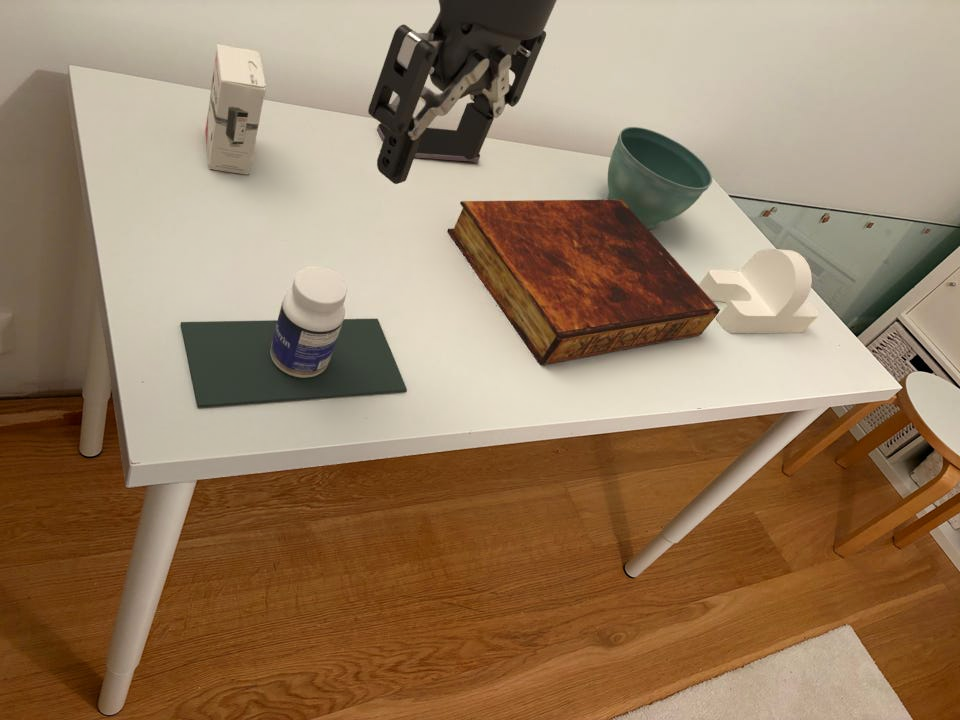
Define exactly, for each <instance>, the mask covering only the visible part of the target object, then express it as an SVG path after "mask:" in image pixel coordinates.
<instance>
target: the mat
mask: <svg viewBox="0 0 960 720" xmlns="http://www.w3.org/2000/svg"><path fill="white" fill-rule="evenodd" d="M277 320H278V319H277ZM277 320H276V319H275V320H274V319H273V320H272V319H271V320H222V321H221V320H220V321H219V320H218V321H214V320H213V321H211V320H210V321H181V322H180V329H181V334H182V339H183V343H184V348H185V353H186V359H187V364H188V369H189V373H190V377H191V383H192V387H193V392H194V397H195V403H196V407H197V408H198V409H201V408H213V407H228V406H239V405H253V404H265V403H279V402H281V403H282V402H291V401H292V402H293V401H294V402H295V401H303V400H305V401H307V400H318V399H331V398H343V397H357V396H370V395H371V396H372V395H383V394H395V393H406V392H407V391H408V388H407V386H406V384H405V381H404V379H403V377H402V374H401V372H400V368H399V367H398V363H397V362H396V360H395V359H396V358H395V357H394V355H393V352H392V350H391V347H390V345H389V342H388V340H387V338H386V335H385V333H384V330H383V328H382V325H381V323H380V320H379V319H378V318H344V320H343V323H342V326H341V329H340V332H339V335H338V338H337V341H336V344H335V347H334V350H333V353H332V356H331V359H330V362H329V364H328V366H327V367H326V369H325V370H324V371H323V372H322V373H320V374H318V375H316V376H313V377H308V378H300V377H295V376H291V375H289V374H287V373H285V372H283V371H282V370H280V369H279V368H278V367H277V366H276V365H275V363H274V362H273V360H272V358H271V354H270V349H271V344H272V340H273V336H274V332H275V328H276V324H277Z"/></svg>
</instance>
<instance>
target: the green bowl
mask: <svg viewBox="0 0 960 720" xmlns="http://www.w3.org/2000/svg"><path fill="white" fill-rule="evenodd" d="M712 184H713V175H712V172H711V171H710V169H709V168H708V166H707V165H706V164H705V163H704V161H703V160H701V158H700V157H698V155H696V154H695V153H694V152H693V151H691V150H690V149H689V148H687V147H686V146H684V145H683V144H681V143H679V142H678V141H676V140H674V139H672V138H670V137H668V136H666V135H664V134H662V133H660V132H657V131H655V130H652V129H649V128H645V127H641V126H640V127H639V126H628V127H625V128H623V129H621V131H620V132H619V134H618V136H617V140H616V143H615V145H614V147H613V149H612V152H611V156H610V159H609V163H608V167H607V188H608V195H607V198H606V200H611V199H621V200H622V201H623V202H624V203H625V204H626V205H627V207H628V208H629V209H630V210H631V211H632V212H633V213H634V214H635V215H636V217H637V218H638V219H639V220H640V221H641V222H642V223H643V224H644V225H645V227H646V228H647V229H648V230H653V229H655V228H657V227H658V226H659V225H660V224H661V223H664V222H668V221H671V220H672V219H675V218H677V217H678V216H680V215H681V214H683V213H685V212H686V211H687V210H689V209H690V208H691V207H692V206H693V205H694V204H695V203H696V202H697V201H698V200H699V199H700V197H701V196H702V195H703V193H705V191H707V190H708V189H709V188H710V186H711V185H712Z"/></svg>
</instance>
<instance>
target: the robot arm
mask: <svg viewBox="0 0 960 720" xmlns="http://www.w3.org/2000/svg"><path fill="white" fill-rule="evenodd" d="M557 1H558V0H438V4H439V12H438V14H437V17H436V19H435V20H434V21H433V24H432V25H431V27H430V28H429V29H428V31H427V32H417V31H415V30H413V29H412V28H410V27H409V26H408V25H406V24H404V23H403V24H401V25H399V26H397V28H396V29H395V31H394V33H393V36H392V39H391V41H390V45H389V47H388V50H387V53H386V56H385V59H384V62H383V65H382V68H381V70H380V74H379V76H378V80H377V83H376V86H375V88H374V92H373V94H372V97H371V101H370V102H369V106H368V110H367V112H368V115H370V116H371V118H373V119H374V120H376V121H378V123H379V124H380V123H381V124H383V125H384V126H385V127H386V128H387V131H386V134H385V138H384V141H382V144H381V148H380V150H379V154H378V156H377V159H376V167H377V170H378V171H379V173H380V174H382V176H384V177H385V178H386V179H387V180H389V181H390V182H391V183H393V184H394V185H398V184H401V183H404V182H406V181H407V179H408V176H409V173H410V171H411V169H412V165H413V162H414V159H415V158H416V157H415V154H416V151H417V149H418V146H419V143H420V140H421V138H419V137H420V136H421V134H422V133H423V132H424V131H425V129H426V128H429V126H430V125H431V123H432V122H433V121H434V120H435V118H436V117H444V116H446V115H447V114H448V113H449V112H450V111H451V110H452V109H453V108H454V106H455V105H456V103H457V102H458V101H459V100H460V99H463V98H465V97H466V96H468V95H469V99H470V100H471V102H467V103H466V105H465V107H464V111H463V113H462V115H461V117H460V120H459V123H458V125H457V128H456V129H455V130H456V133H455V135H454V138H453V140H452V146H453V148H454V149H455V150H456V151H457V152H459V153H460V154H461V155H463V156H464V157H465V158H466V159H473V158H476V157H477V156H478V155H479V154H480V153H481V151H482V147H483V145H484V143H485V141H486V138H487V136H488V134H489V131H490V129H491V127H492V125H493V121H494V119H497V118H499V117H500V116H501V115H502V114H503V112H504V111H505V107H506V105H508V106H510V107H512V108H513V107H515V106H516V105H517V104H518V103H519V101H520V100H521V98H522V96H523V93H524V91H525V88H526V86H527V84H528V82H529V79H530V76H531V74H532V72H533V69H534V66H535V64H536V62H537V59H538V57H539V54H540V52H541V50H542V47H543V45H544V43H545V40H546V38H547V32H546V31H545V28H546V26H547V25H548V21H549V19H550V17H551V14H552V13H553V11H554V8H555V5H556V3H557ZM510 71H511V72H512V73H513V74H514V79H513V82H512V84H510ZM428 77H429V78H430V82H431V83H432V85H433V86H434V87H436V89H438V90H439V91H441V93H436V92H434V91H433V90H431V89H430V88H429V87H427V86H426V82H427V80H428ZM393 93H395V94H396V95H397V96H396V97H394V99H393V100H392V102H391V103H390V101H391V98H392V96H393ZM419 101H421V102H422V103H423V104H424V105H423V107H422V108H421V109H420V111H418V113H417V114H416V115H415V117H414V114H415V111H416V109H417V106H418V103H419Z"/></svg>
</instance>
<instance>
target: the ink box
mask: <svg viewBox="0 0 960 720" xmlns="http://www.w3.org/2000/svg"><path fill="white" fill-rule="evenodd" d="M262 63H263V62H262V58H261V53H260V52H258V51H256V50H252V49H247V48H242V47H238V46H237V47H236V46H232V45H228V44H222V43H216V49H215V56H214V63H213V64H214V65H213V72H212V78H211V79H212V80H211V88H210V94H209V95H210V96H209V102H208V108H207V109H208V110H207V116H206V124H205V139H206V141H205V142H206V156H207V165H208V170H215V171H218V172H219V171H221V172H228V173H234V174H239V175H245V176H248V175H250V173H251V167H252V162H253V157H254V152H255V145H256V140H257V135H258V131H259V125H260V120H261V114H262V109H263V105H264V99H265V93H266V86H267V84H266V77H265V73H264V68H263V65H262Z"/></svg>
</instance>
